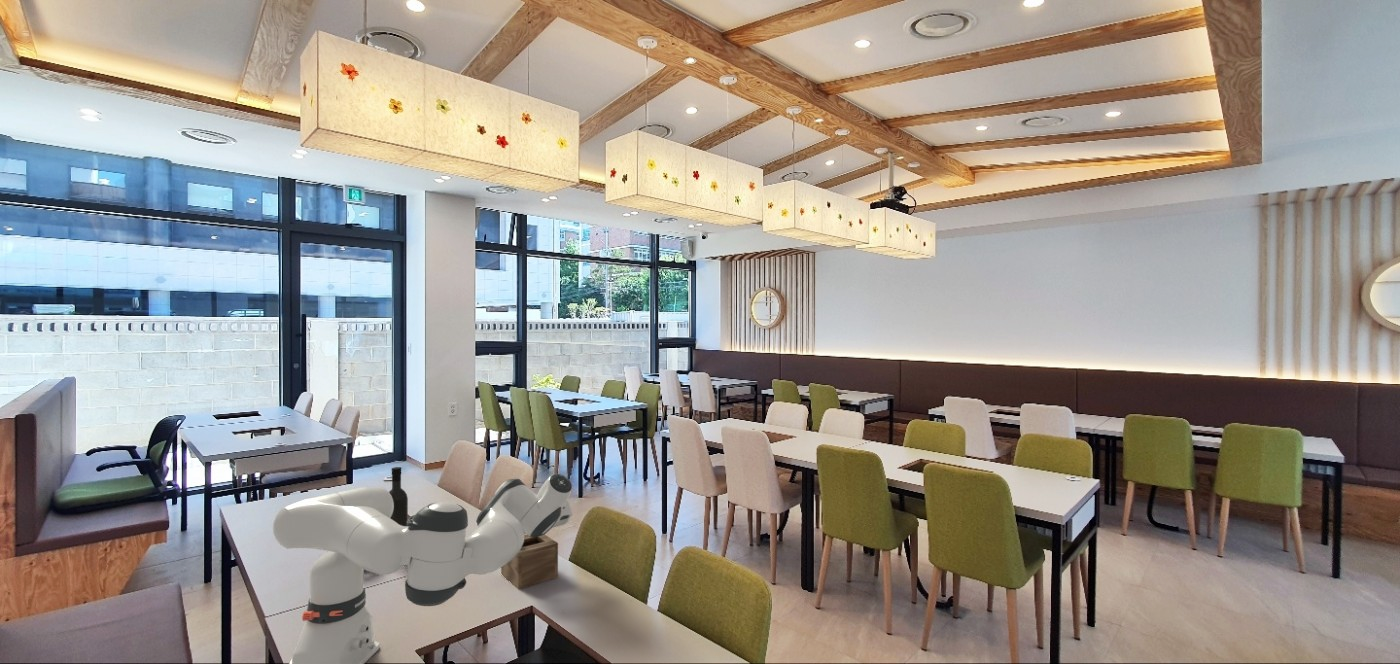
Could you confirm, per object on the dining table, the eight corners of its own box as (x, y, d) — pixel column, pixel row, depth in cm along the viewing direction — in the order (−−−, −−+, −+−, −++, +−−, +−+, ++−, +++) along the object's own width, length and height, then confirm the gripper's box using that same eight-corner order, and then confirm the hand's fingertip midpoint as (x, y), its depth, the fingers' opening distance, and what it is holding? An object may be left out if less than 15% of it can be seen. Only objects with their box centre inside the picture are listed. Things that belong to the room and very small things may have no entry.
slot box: (557, 577, 189) (557, 542, 189) (518, 589, 181) (518, 553, 181) (539, 564, 199) (539, 531, 199) (501, 575, 191) (501, 540, 191)
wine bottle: (392, 559, 202) (392, 470, 202) (384, 555, 206) (383, 468, 205) (409, 554, 207) (408, 467, 206) (400, 550, 210) (400, 465, 210)
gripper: (513, 528, 174) (500, 551, 181) (577, 513, 187) (562, 536, 195) (507, 509, 177) (494, 532, 185) (570, 496, 190) (556, 518, 198)
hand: (530, 534), depth 190 cm, fingers open, 8 cm apart
